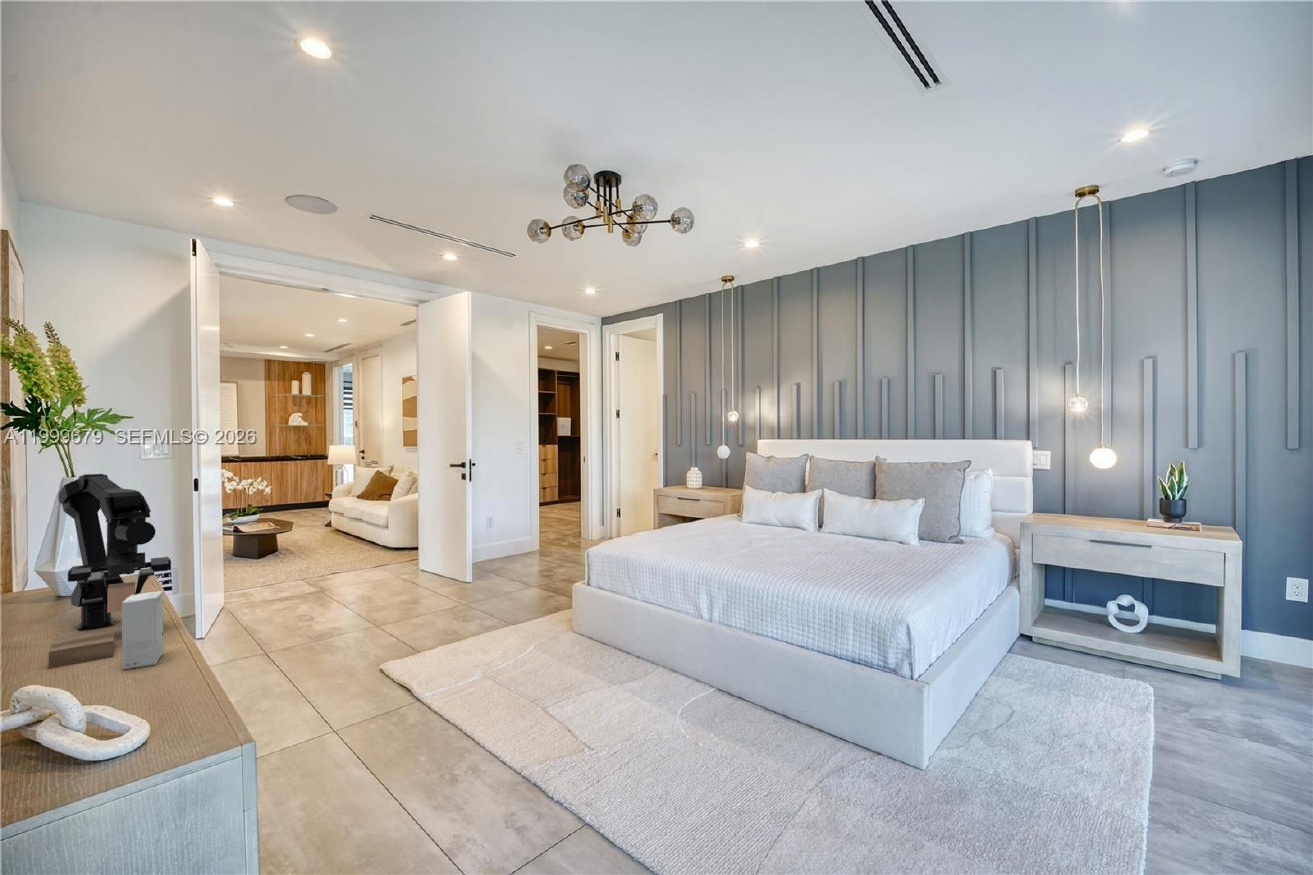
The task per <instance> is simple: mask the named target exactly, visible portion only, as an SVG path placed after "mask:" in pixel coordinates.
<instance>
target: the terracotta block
mask: <svg viewBox="0 0 1313 875" xmlns="http://www.w3.org/2000/svg"><path fill="white" fill-rule="evenodd" d="M135 592H136V581H130V582H128V581H127V582H124V583H119V584H111V585H108V600H107V613H111V614H112V613H116V612H117V613H118V612H122V602H124V601H125V600H126V598H128V597H130V596H131V595H134V594H135Z"/></svg>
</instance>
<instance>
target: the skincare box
mask: <svg viewBox="0 0 1313 875" xmlns="http://www.w3.org/2000/svg"><path fill="white" fill-rule="evenodd" d="M163 595H164V594H163V590H158V591H151V592H143V593H140V594H134V595H131V596H130V597H128V598H126V600H125V601H124V602H122V611H121V653H122V654H121V658H122V660H121V664H122V666H121V668H122V670H127V669H128V670H129V669H133V668H134V669H135V668H140V667H141V668H143V667H149V666H155V665H157V664H158V662H159V659H160V657H161V658H162V655H163V654H164V610H163V597H164V596H163Z"/></svg>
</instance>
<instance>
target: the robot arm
mask: <svg viewBox="0 0 1313 875" xmlns="http://www.w3.org/2000/svg"><path fill="white" fill-rule="evenodd" d="M57 496H58V502H59V504H61V506H62V510H63V512H64V513H65V514H67V515H68V516H69V517H70V518H72V519H73V520H74V524H75V530H76V536H77V540H78V546H79V551H80V552H79V553H80V557H81V563H82V565H74V566H71V567H70V569H69V570H67V571H68V572H67V582H69V583H71V582H76V585H75V587H74V589H73V591H72V593H71V595H70V604H71V606H73V607H76V608H80V623H78V626H77V631H83V630H90V629H97V628H103V627H109V626H114V617H112V612H111V613H107V600H108V585H111V584H119V583H125V581H124V580H123V577H122V576H121V575H127V576H128V575H133V574H134V573H135V572H136V571H138V576H137V581H136V585H135V594H141V592H142V590H143V587H144V585H145V583H146V581H147V580H148V578H150V577H151V576H155V573H158V572H167V571H168V572H169V571H171V570H172V559H171V558H170V557H169V556H164V557H163V556H162V557H155V558H154V557H153V558H150V561H147V562H146V552H145V551H144V552H138V550H139V549H138V546H140V545H141V546H142V545H146V544H147V543H149V542H151V541H152V540H153V538H154V537H155V536H156V528H155V527H154V525H153V524H152V523H150V522H148V521H146V519H148V518H150V517H151V514H150V513H151V511H152V510H151V509H150V506H149V504H148V502H147V499H146V498H145V496H144V495H143V494H142V493H141V491H139V490H136V489H132V488H131V489H129V488H128V489H127V488H123V487H120V486H119V485H118V484H116V482H114V481H113V480H112V479H109V477H108V475H107V474H103V473H87V474H86V473H85V474H83V475H82V474H81V475H79V477H78V478H77V479H75V480H73V481H70V482H68V483H66V484H64V485H63V486H62V488H61V489H60V491H59V492H58V495H57ZM99 511H101V512H102V514H103V516H104V518H105V519H106V520H105V522H106V548H105V543H104V537H103V536H104V535H103V532H102V528H101V523H100V522H101V521H100V517H99Z"/></svg>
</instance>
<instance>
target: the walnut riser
mask: <svg viewBox="0 0 1313 875" xmlns="http://www.w3.org/2000/svg"><path fill="white" fill-rule="evenodd" d="M115 631H116V630H115V629H112V630H105V631H100V632H92V633H87V634H82V635H80V634H79V635H75V636H68V637H62V638H61V637H60V638H55V639H53V641H52V644H51V645H50V648H49V651H48V669H54V668H59V667H65V666H71V665H77V664H83V663H88V662H93V661H94V662H95V661H98V660H103V659H108V658H109V659H111V658H114V650H115V642H116V641H115V640H116V639H115V636H116V635H115V633H116V632H115Z"/></svg>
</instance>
